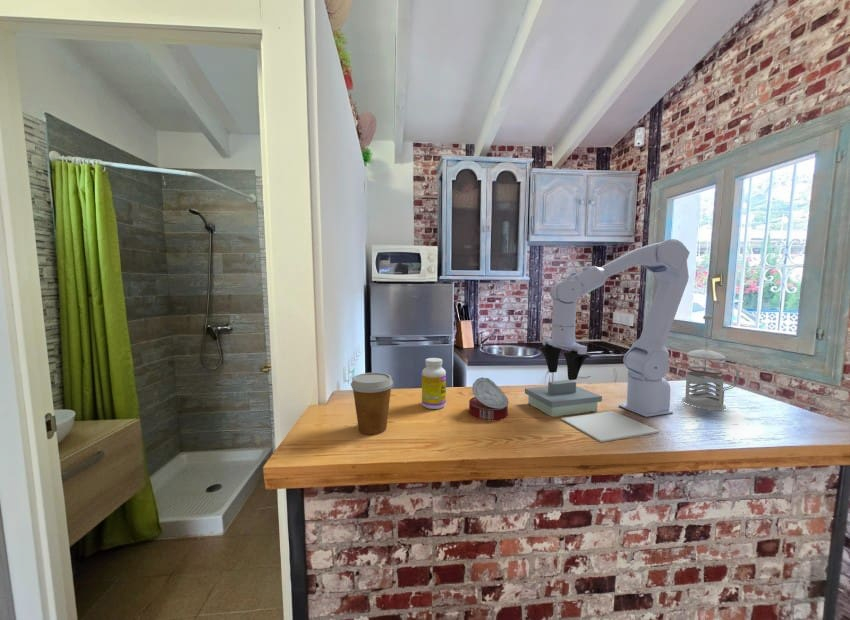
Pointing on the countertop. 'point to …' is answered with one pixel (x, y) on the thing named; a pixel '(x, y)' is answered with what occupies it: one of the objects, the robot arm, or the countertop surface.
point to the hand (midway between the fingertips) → (562, 375)
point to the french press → (706, 380)
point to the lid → (562, 394)
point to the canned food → (488, 401)
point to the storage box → (562, 408)
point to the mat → (609, 426)
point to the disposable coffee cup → (372, 401)
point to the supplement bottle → (433, 384)
